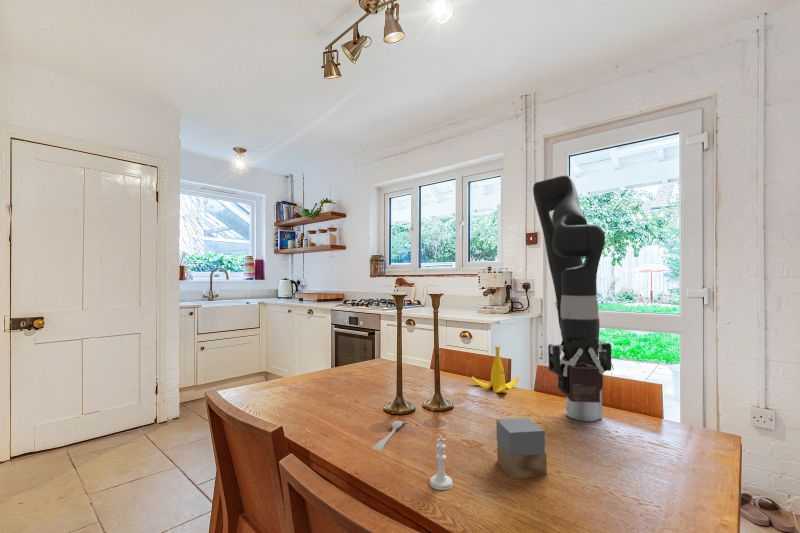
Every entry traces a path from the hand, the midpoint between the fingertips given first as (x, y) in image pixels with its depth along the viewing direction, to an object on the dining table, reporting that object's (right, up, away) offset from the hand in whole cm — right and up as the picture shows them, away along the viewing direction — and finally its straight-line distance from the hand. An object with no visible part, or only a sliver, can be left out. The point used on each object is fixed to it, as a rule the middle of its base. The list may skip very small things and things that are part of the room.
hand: (580, 391), depth 85 cm
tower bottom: (-12, -19, +4) cm, 23 cm away
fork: (-42, -20, +23) cm, 52 cm away
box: (0, -2, 0) cm, 2 cm away
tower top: (-12, -14, +4) cm, 19 cm away
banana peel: (-3, -21, +68) cm, 72 cm away
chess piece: (-31, -19, -2) cm, 36 cm away
